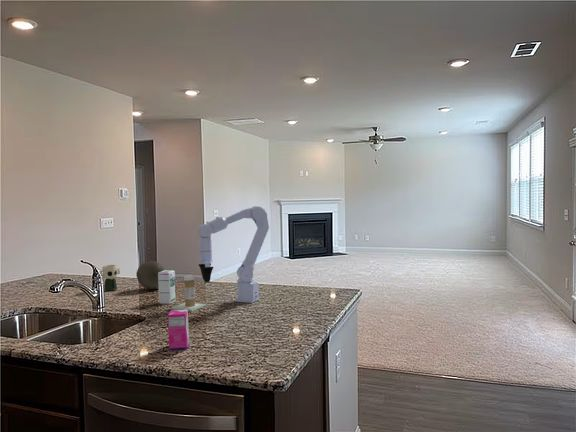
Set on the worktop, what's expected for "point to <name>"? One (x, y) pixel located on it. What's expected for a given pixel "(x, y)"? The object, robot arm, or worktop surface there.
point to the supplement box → (178, 329)
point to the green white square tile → (192, 308)
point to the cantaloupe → (149, 274)
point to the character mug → (110, 276)
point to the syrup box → (167, 287)
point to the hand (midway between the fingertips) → (206, 280)
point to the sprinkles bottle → (189, 290)
